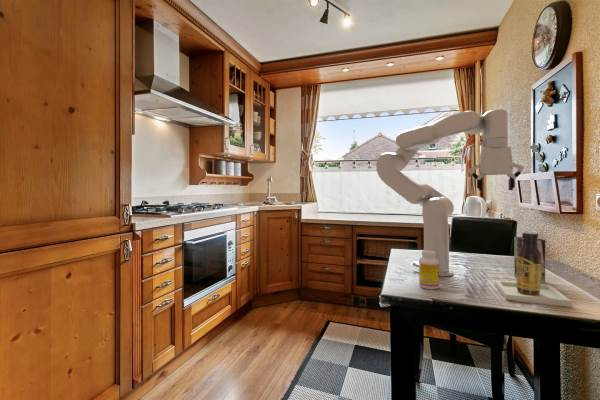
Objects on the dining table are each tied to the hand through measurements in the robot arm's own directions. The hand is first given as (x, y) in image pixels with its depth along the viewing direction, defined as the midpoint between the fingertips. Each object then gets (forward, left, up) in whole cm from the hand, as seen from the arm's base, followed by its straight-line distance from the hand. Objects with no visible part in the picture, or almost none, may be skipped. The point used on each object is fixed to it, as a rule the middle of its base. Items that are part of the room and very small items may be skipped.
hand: (495, 190), depth 112 cm
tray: (+7, -13, -34) cm, 37 cm away
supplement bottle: (-23, -15, -34) cm, 44 cm away
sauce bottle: (+7, -13, -34) cm, 37 cm away
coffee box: (+12, +6, -34) cm, 37 cm away
